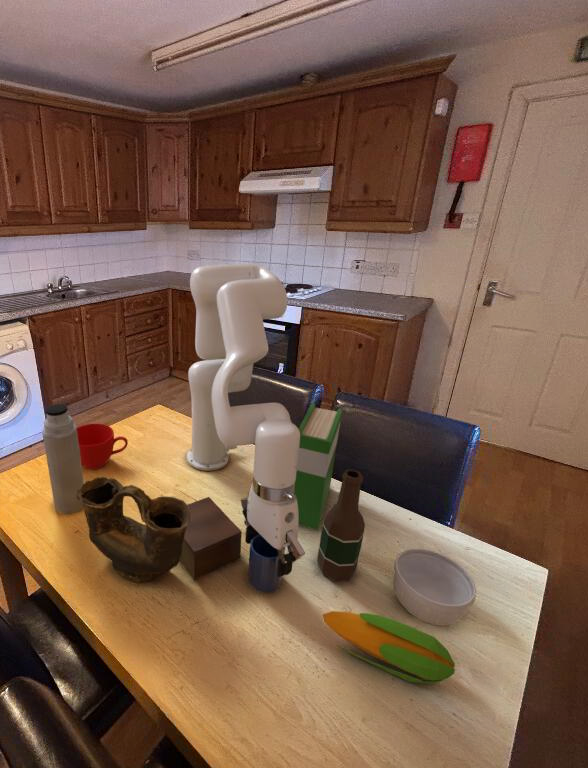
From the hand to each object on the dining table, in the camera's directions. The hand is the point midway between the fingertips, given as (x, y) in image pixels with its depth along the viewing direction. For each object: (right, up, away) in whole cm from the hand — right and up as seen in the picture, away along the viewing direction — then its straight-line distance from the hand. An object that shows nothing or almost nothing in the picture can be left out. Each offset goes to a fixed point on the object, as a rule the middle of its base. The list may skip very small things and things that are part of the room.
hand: (267, 556), depth 82 cm
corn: (+16, -12, -12) cm, 24 cm away
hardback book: (+16, +3, +24) cm, 29 cm away
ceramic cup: (-41, +10, +43) cm, 60 cm away
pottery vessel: (-27, -5, +7) cm, 28 cm away
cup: (0, -6, +3) cm, 7 cm away
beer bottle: (+16, -5, +5) cm, 17 cm away
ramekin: (+30, -8, -2) cm, 31 cm away
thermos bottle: (-46, +3, +26) cm, 53 cm away
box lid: (-12, +4, +8) cm, 15 cm away
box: (-12, -3, +11) cm, 16 cm away
